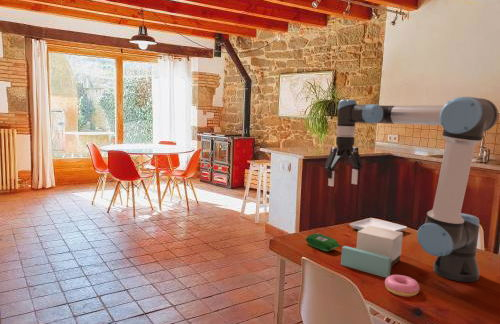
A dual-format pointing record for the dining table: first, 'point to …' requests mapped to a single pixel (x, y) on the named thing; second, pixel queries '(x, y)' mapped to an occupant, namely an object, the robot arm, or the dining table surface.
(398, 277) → the doughnut
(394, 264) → the roller bed
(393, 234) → the white box
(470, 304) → the dining table surface
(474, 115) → the robot arm
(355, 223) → the salad plate
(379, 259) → the block
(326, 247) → the snack package
